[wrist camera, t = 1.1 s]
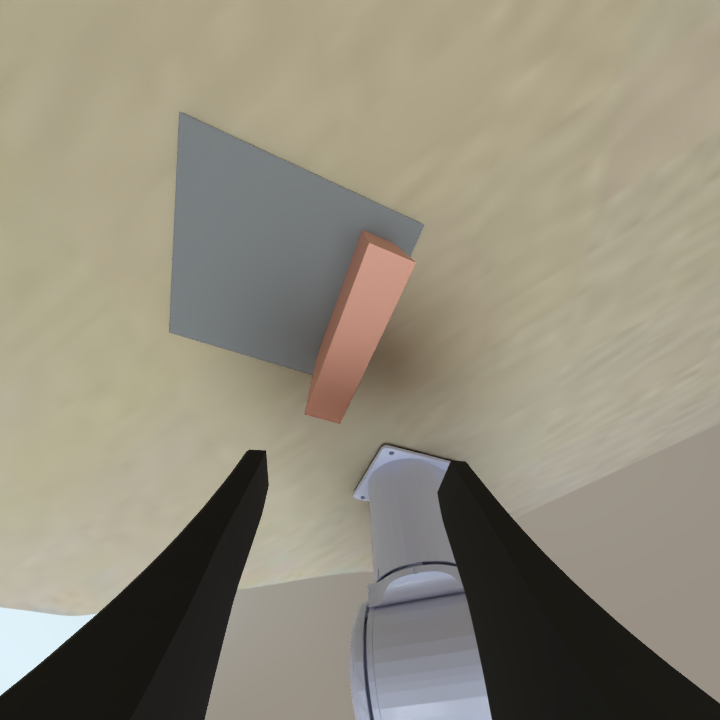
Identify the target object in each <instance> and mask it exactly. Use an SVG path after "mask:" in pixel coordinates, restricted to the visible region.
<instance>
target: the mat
mask: <svg viewBox="0 0 720 720" xmlns="http://www.w3.org/2000/svg"><path fill="white" fill-rule="evenodd" d="M423 227H424V225H423V224H421V223H419V222H417V221H415V220H412V219H410V218H408V217H406V216H404V215H402V214H399V213H397V212H395V211H393V210H391V209H389V208H386V207H384V206H382V205H380V204H378V203H376V202H373V201H371V200H369V199H367V198H365V197H363V196H360V195H358V194H356V193H354V192H352V191H350V190H347V189H345V188H343V187H341V186H339V185H337V184H334V183H332V182H330V181H328V180H326V179H324V178H321V177H319V176H317V175H315V174H313V173H311V172H308V171H306V170H304V169H302V168H300V167H298V166H296V165H293V164H291V163H289V162H287V161H285V160H283V159H280V158H278V157H276V156H274V155H272V154H270V153H267V152H265V151H263V150H261V149H259V148H257V147H254V146H252V145H250V144H248V143H246V142H244V141H241V140H239V139H237V138H235V137H233V136H231V135H228V134H226V133H224V132H222V131H220V130H218V129H215V128H213V127H211V126H209V125H207V124H205V123H202V122H200V121H198V120H196V119H194V118H192V117H189V116H187V115H185V114H183V113H181V112H179V127H178V149H177V170H176V192H175V214H174V236H173V257H172V279H171V301H170V322H169V333H173V334H176V335H180V336H183V337H186V338H190V339H193V340H196V341H200V342H203V343H206V344H210V345H213V346H217V347H220V348H223V349H227V350H230V351H233V352H237V353H240V354H243V355H247V356H250V357H254V358H257V359H260V360H264V361H267V362H270V363H274V364H277V365H281V366H284V367H287V368H291V369H294V370H297V371H301V372H304V373H307V374H311V375H313V372H314V367H315V362H316V358H317V355H318V352H319V349H320V347H321V344H322V341H323V338H324V335H325V333H326V330H327V327H328V324H329V321H330V319H331V316H332V313H333V310H334V307H335V305H336V302H337V299H338V296H339V293H340V291H341V288H342V285H343V282H344V279H345V277H346V274H347V271H348V268H349V265H350V263H351V260H352V257H353V254H354V251H355V249H356V246H357V243H358V240H359V237H360V235H361V232H362V230H365V231H367V232H369V233H371V234H374V235H376V236H378V237H381V238H383V239H385V240H388V241H390V242H392V243H394V244H395V245H397V246H398V247H399V248H400V249H401V250H402V251H403V252H404V253H406V254H407V255H408V256H409V257H410V255H411V253H412V251H413V248H414V246H415V244H416V242H417V240H418V237H419V235H420V233H421V231H422V229H423Z"/></svg>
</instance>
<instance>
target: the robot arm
mask: <svg viewBox="0 0 720 720" xmlns="http://www.w3.org/2000/svg"><path fill="white" fill-rule="evenodd" d="M390 451H392V452H390ZM268 486H269V484H268V471H267V458H266V451H263V450H248V451H247V452H246V453H245V454H244V456H243V457H242V459H241V460H240V462H239V463H238V464H237V466H236V467H235V468H234V470H233V471H232V472H231V474H230V475H229V476H228V478H227V479H226V480H225V481H224V483H223V484H222V485H221V486H220V488H219V489H218V490H217V491H216V493H215V494H214V495H213V496H212V497H211V499H210V500H209V501H208V502H207V503H206V505H205V506H204V507H203V508H202V509H201V511H200V512H199V513H198V514H197V515H196V516H195V517H194V518H193V519H192V521H191V522H190V523H189V524H188V525H187V526H186V527H185V528H184V530H183V531H182V532H181V533H180V534H179V535H178V536H177V537H176V538H175V539H174V540H173V541H172V543H171V544H170V545H169V546H168V547H167V548H166V549H165V550H164V551H163V552H162V553H161V554H160V555H159V556H158V557H157V558H156V559H155V560H154V561H153V562H152V563H151V564H150V565H149V566H148V567H147V568H146V569H145V570H144V571H143V572H142V573H141V574H140V575H139V576H138V577H137V578H136V579H134V580H133V581H132V582H131V583H130V584H129V585H128V586H127V587H126V588H125V589H124V590H123V591H122V592H121V593H120V594H119V595H118V596H117V597H115V598H114V599H113V600H112V601H111V602H110V603H109V604H108V605H107V606H106V607H105V608H103V609H102V610H101V611H100V612H99V613H98V614H97V615H96V616H94V617H93V619H91V620H90V621H89V622H88V623H86V624H85V625H84V626H83V627H82V628H81V629H79V630H78V631H77V632H76V633H75V634H74V635H73V636H71V638H69V639H68V640H67V641H66V642H65V643H63V644H62V645H61V646H60V647H59V648H58V649H56V650H55V651H54V652H53V653H52V654H51V655H50V656H48V657H47V658H46V659H45V660H44V661H43V662H41V663H40V664H39V665H38V666H37V667H35V668H34V669H33V670H32V671H30V672H29V673H28V674H27V675H26V676H24V677H23V678H22V679H21V680H19V681H18V682H17V683H16V684H14V685H13V686H12V687H11V688H9V689H8V690H7V691H6V692H4V693H3V694H2V695H1V696H0V720H204V719H205V715H206V710H207V706H208V702H209V698H210V694H211V689H212V685H213V681H214V676H215V672H216V668H217V664H218V660H219V656H220V651H221V648H222V644H223V640H224V636H225V632H226V628H227V624H228V620H229V616H230V612H231V608H232V605H233V601H234V597H235V594H236V591H237V587H238V584H239V581H240V578H241V575H242V572H243V569H244V566H245V563H246V560H247V557H248V554H249V552H250V549H251V546H252V543H253V540H254V537H255V534H256V531H257V528H258V525H259V522H260V519H261V516H262V512H263V508H264V503H265V499H266V495H267V490H268ZM353 497H354V498H355V499H358V500H363V501H368V502H369V510H370V524H371V539H372V554H373V569H374V584H370V585H368V602H364V603H363V604H361V606H360V608H359V610H358V613H357V615H356V617H355V619H354V622H353V626H352V631H351V639H350V683H351V692H352V693H351V694H352V701H353V708H354V714H355V719H356V720H720V704H719V703H718V702H717V701H716V700H714V699H713V698H712V697H710V696H709V695H708V694H707V693H705V692H704V691H703V690H701V689H700V688H699V687H698V686H696V685H695V684H693V683H692V682H691V681H690V680H688V679H687V678H686V677H685V676H683V675H682V674H681V673H679V672H678V671H677V670H675V669H674V668H673V667H672V666H670V665H669V664H668V663H667V662H665V661H664V660H663V659H662V658H660V657H659V656H658V655H657V654H656V653H654V652H653V651H652V650H651V649H649V648H648V647H647V646H646V645H645V644H643V643H642V642H641V641H640V640H638V639H637V638H636V637H635V636H634V635H633V634H631V633H630V632H629V631H628V630H627V629H625V628H624V627H623V626H622V625H621V624H620V623H618V622H617V621H616V620H615V619H614V618H613V617H612V616H610V615H609V614H608V613H607V612H606V611H605V610H604V609H603V608H601V607H600V606H599V605H598V604H597V603H596V602H595V601H594V600H593V599H591V598H590V597H589V596H588V595H587V594H586V593H585V592H584V591H583V590H582V589H581V588H579V587H578V586H577V585H576V584H575V583H574V582H573V581H572V580H571V579H570V578H569V577H568V576H567V575H566V574H565V573H564V572H563V571H562V570H561V569H560V568H559V567H558V566H557V565H556V564H555V563H554V562H553V561H552V560H550V558H549V557H548V556H547V555H546V554H545V553H544V552H543V551H542V550H541V549H540V548H539V547H538V546H537V545H536V544H535V543H534V542H533V541H532V540H531V538H530V537H529V536H528V535H527V534H526V533H525V532H524V531H523V530H522V529H521V527H520V526H519V525H518V524H517V523H516V522H515V521H514V520H513V518H512V517H511V516H510V515H509V514H508V513H507V511H506V510H505V509H504V508H503V507H502V506H501V504H500V503H499V502H498V501H497V500H496V498H495V497H494V496H493V495H492V494H491V492H490V491H489V490H488V489H487V488H486V486H485V485H484V484H483V483H482V481H481V480H480V479H479V478H478V476H477V475H476V474H475V473H474V471H473V470H472V469H471V468H470V467H469V465H468V464H467V463H466V462H463V461H448V460H444V459H440V458H436V457H432V456H429V455H425V454H421V453H417V452H413V451H409V450H405V449H401V448H397V447H393V446H389V445H384V446H382V447H381V449H380V450H379V452H378V453H377V455H376V457H375V458H374V460H373V462H372V463H371V465H370V467H369V468H368V470H367V472H366V473H365V475H364V477H363V478H362V480H361V481H360V483H359V485H358V486H357V488H356V490H355V491H354V494H353Z"/></svg>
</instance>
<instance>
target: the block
mask: <svg viewBox="0 0 720 720" xmlns="http://www.w3.org/2000/svg"><path fill="white" fill-rule="evenodd" d="M415 264H416V262H415V261H414V260H412V259H411V258H410V257H409V256H408V255H407V254H406V253H404V252H403V251H402V250H401V249H400V248H399V247H398V246H397V245H395V244H394V243H392V242H390V241H388V240H385V239H383V238H381V237H378V236H376V235H374V234H371V233H369V232H367V231H365V230H362V232H361V235H360V237H359V240H358V243H357V246H356V249H355V251H354V254H353V257H352V260H351V263H350V265H349V268H348V271H347V274H346V277H345V279H344V282H343V285H342V288H341V291H340V293H339V296H338V299H337V302H336V305H335V307H334V310H333V313H332V316H331V319H330V321H329V324H328V327H327V330H326V333H325V335H324V338H323V341H322V344H321V347H320V349H319V352H318V355H317V358H316V362H315V367H314V372H313V377H312V381H311V386H310V391H309V395H308V400H307V405H306V410H305V415H309V416H313V417H316V418H320V419H324V420H328V421H332V422H335V423H339V424H340V423H341V421H342V419H343V417H344V415H345V412H346V410H347V408H348V406H349V404H350V402H351V400H352V398H353V396H354V393H355V391H356V389H357V387H358V385H359V383H360V381H361V379H362V376H363V374H364V372H365V370H366V368H367V366H368V364H369V362H370V360H371V357H372V355H373V353H374V351H375V349H376V347H377V345H378V343H379V340H380V338H381V336H382V334H383V332H384V330H385V328H386V326H387V324H388V321H389V319H390V317H391V315H392V313H393V311H394V309H395V307H396V305H397V302H398V300H399V298H400V296H401V294H402V292H403V290H404V288H405V285H406V283H407V281H408V279H409V277H410V275H411V273H412V271H413V269H414V266H415Z"/></svg>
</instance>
